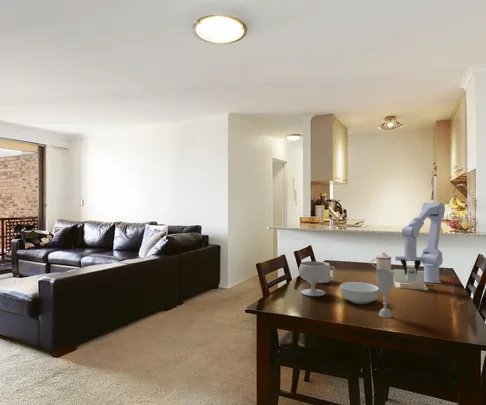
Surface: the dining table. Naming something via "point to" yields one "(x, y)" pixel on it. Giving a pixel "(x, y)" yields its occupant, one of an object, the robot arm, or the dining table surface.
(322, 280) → the mug
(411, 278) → the cabinet block
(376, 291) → the cereal bowl
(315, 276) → the chalice
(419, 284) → the cream l-shaped stand
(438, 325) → the dining table surface
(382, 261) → the teacup with lid
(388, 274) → the chalice
